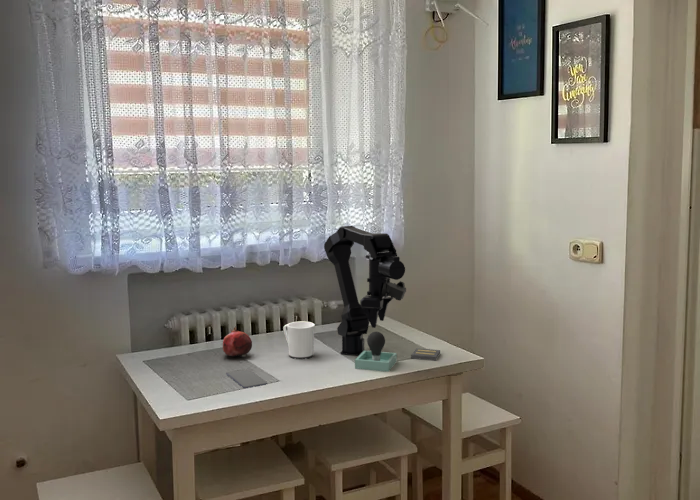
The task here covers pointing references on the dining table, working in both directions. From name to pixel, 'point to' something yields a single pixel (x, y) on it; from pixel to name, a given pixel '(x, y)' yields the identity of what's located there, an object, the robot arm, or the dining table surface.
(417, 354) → the pad
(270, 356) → the dining table surface
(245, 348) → the fruit
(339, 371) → the dining table surface
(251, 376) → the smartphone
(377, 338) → the light bulb
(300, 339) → the mug
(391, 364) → the teal square tray
